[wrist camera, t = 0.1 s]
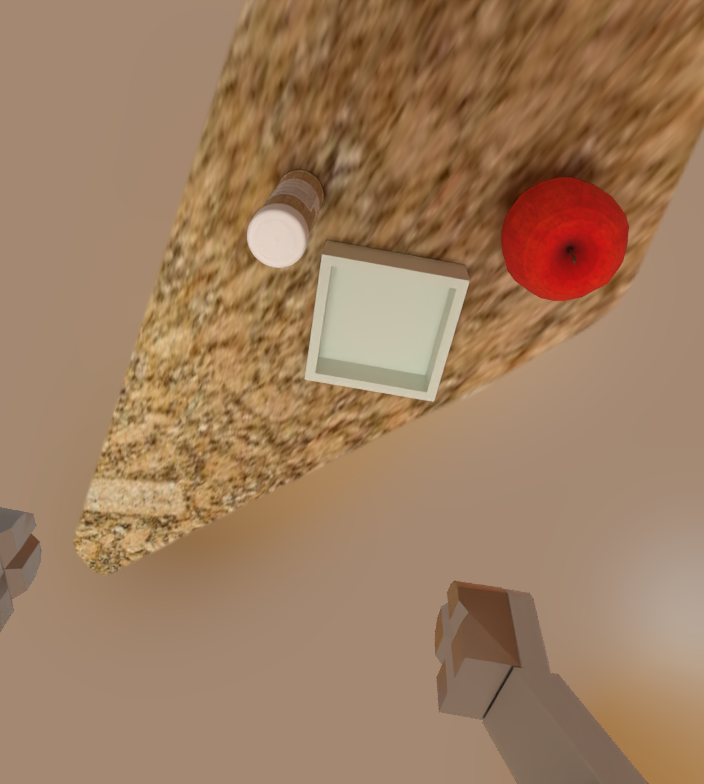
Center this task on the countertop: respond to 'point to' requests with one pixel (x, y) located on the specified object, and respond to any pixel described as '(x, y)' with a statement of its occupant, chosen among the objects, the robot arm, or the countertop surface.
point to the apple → (564, 238)
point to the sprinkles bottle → (286, 220)
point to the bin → (384, 320)
